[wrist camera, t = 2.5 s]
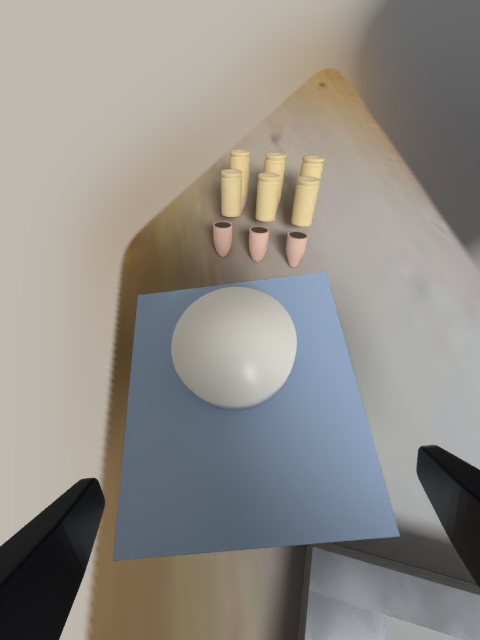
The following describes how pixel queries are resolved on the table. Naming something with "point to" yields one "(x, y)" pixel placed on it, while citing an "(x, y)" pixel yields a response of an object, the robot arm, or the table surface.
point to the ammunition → (267, 202)
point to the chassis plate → (379, 597)
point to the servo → (245, 425)
